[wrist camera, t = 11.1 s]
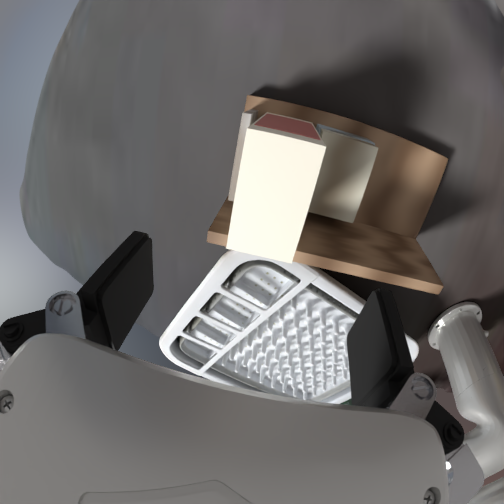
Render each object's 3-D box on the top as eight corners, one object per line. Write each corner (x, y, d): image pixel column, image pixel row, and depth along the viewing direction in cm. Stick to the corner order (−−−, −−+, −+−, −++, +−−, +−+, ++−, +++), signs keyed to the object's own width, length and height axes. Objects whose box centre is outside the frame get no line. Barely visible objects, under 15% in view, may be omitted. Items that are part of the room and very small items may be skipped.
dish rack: (307, 393, 60) (306, 422, 53) (164, 321, 52) (149, 352, 45) (420, 321, 44) (432, 354, 37) (256, 196, 36) (246, 224, 29)
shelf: (441, 154, 28) (493, 188, 18) (407, 239, 35) (438, 294, 25) (249, 94, 29) (226, 97, 19) (232, 194, 36) (206, 241, 26)
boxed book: (312, 122, 28) (326, 145, 16) (293, 195, 33) (291, 263, 21) (267, 111, 28) (247, 127, 16) (252, 186, 33) (226, 248, 21)
